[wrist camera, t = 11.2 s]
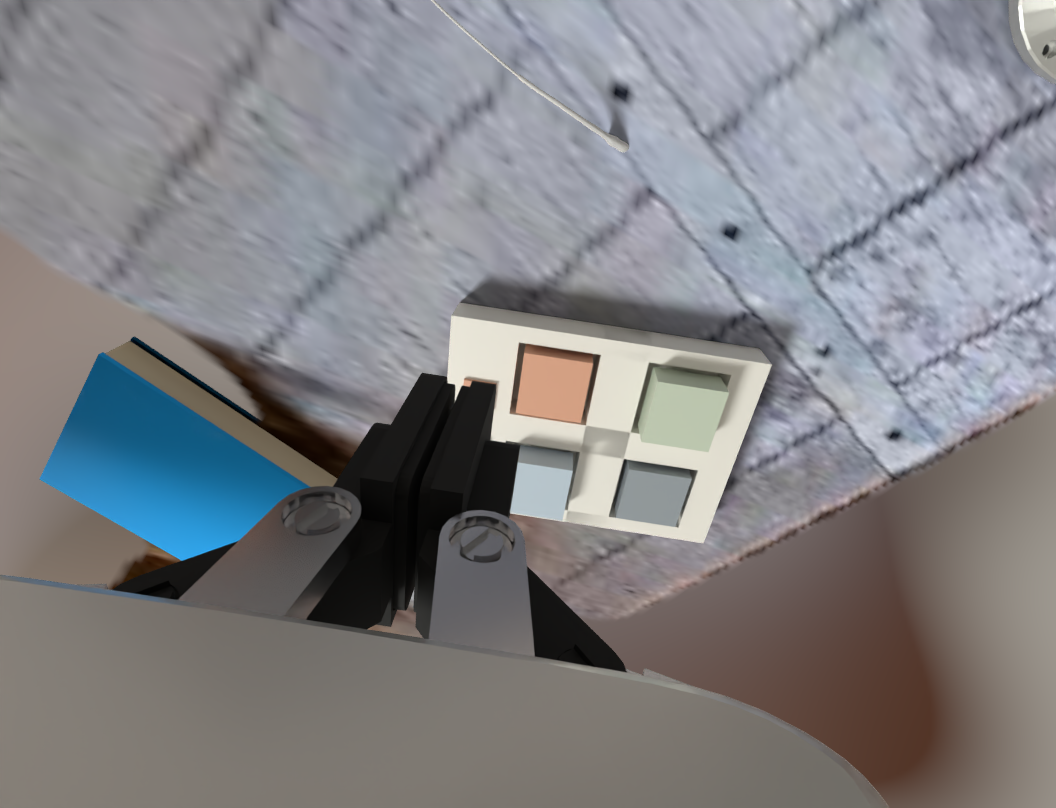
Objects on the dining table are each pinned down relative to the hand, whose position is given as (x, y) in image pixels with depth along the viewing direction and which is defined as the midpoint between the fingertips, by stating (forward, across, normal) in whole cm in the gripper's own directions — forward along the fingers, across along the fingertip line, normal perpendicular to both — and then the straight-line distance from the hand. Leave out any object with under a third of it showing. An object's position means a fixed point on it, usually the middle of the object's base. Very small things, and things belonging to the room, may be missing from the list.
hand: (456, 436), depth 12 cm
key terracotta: (+28, -3, +11) cm, 30 cm away
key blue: (+27, -3, +20) cm, 33 cm away
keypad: (+29, -6, +16) cm, 34 cm away
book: (+30, +26, +28) cm, 49 cm away
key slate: (+28, -13, +20) cm, 36 cm away
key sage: (+27, -13, +11) cm, 31 cm away
